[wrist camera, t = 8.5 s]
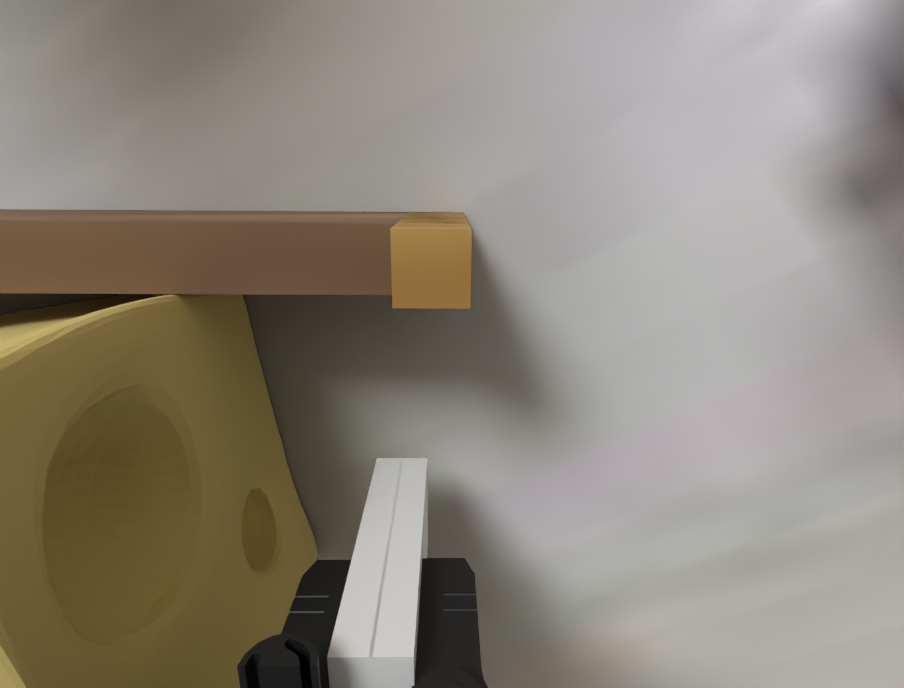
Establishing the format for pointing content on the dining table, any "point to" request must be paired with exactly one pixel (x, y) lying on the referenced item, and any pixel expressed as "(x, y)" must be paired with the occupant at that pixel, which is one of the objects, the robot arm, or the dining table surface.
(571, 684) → the dining table surface
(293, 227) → the bay
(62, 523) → the cheese
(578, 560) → the dining table surface
